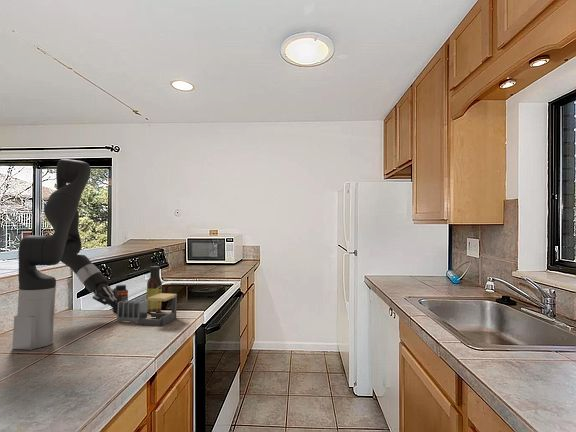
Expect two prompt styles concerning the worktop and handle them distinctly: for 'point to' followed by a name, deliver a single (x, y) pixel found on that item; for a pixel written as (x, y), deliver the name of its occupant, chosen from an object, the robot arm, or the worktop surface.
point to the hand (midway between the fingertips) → (119, 309)
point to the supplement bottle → (121, 293)
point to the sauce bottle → (154, 289)
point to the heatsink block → (132, 310)
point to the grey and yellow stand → (164, 316)
